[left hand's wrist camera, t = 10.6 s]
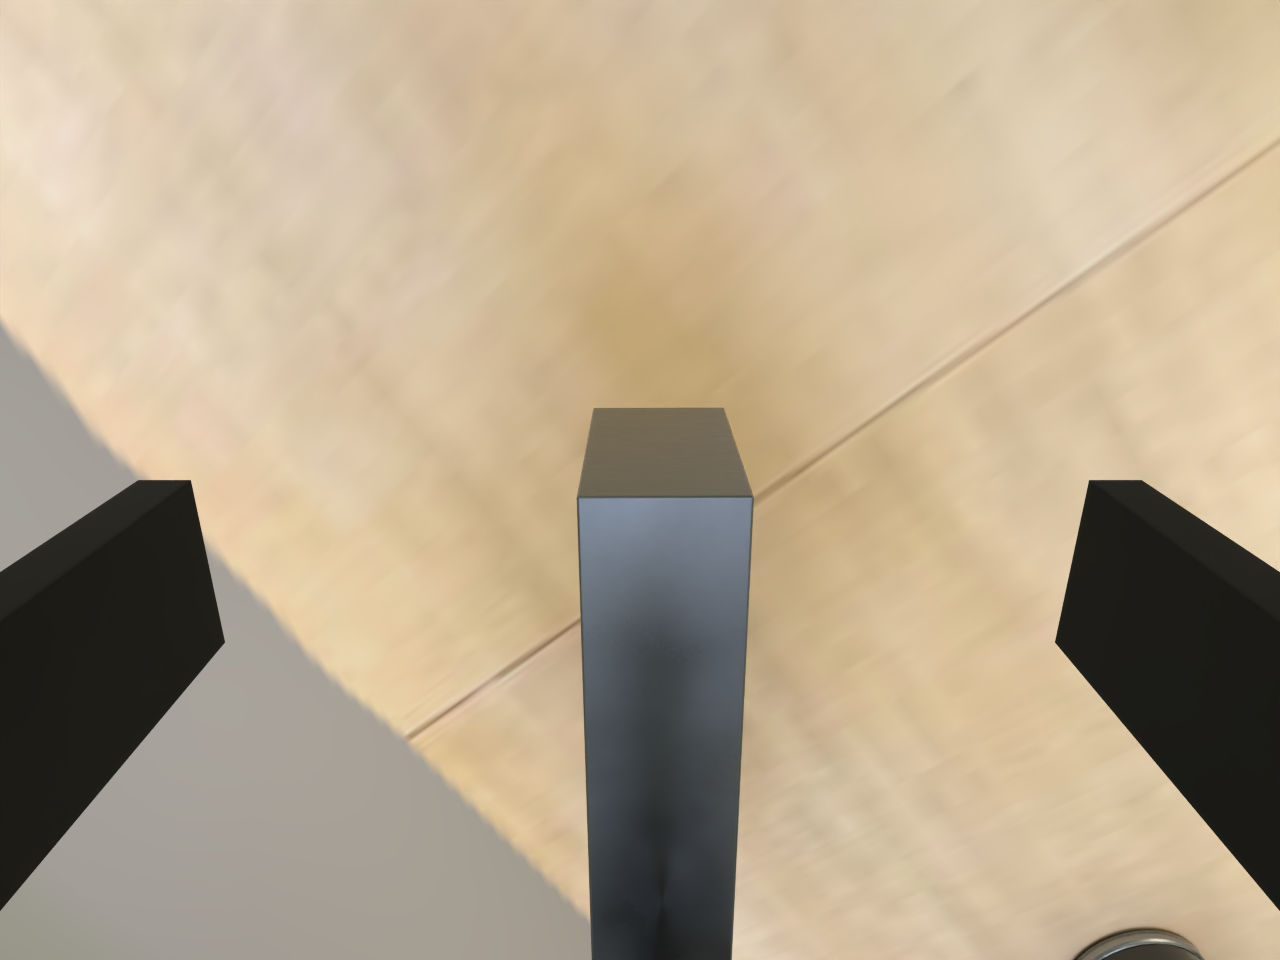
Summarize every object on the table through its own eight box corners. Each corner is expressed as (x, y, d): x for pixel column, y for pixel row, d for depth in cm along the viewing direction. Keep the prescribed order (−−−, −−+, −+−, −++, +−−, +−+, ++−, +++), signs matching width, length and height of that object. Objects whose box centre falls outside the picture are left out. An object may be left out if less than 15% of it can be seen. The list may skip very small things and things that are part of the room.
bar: (593, 407, 29) (576, 496, 21) (723, 407, 29) (754, 496, 21) (607, 979, 39) (598, 1181, 31) (705, 979, 39) (721, 1180, 31)
